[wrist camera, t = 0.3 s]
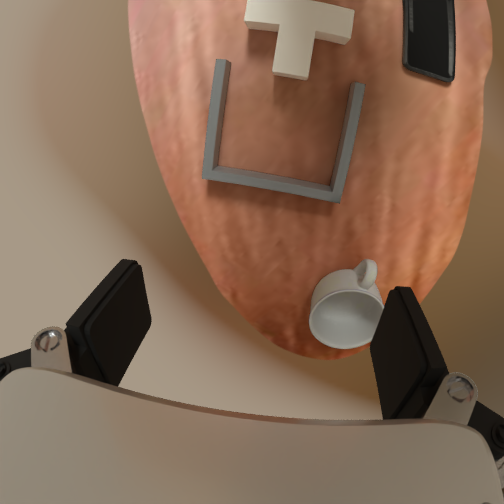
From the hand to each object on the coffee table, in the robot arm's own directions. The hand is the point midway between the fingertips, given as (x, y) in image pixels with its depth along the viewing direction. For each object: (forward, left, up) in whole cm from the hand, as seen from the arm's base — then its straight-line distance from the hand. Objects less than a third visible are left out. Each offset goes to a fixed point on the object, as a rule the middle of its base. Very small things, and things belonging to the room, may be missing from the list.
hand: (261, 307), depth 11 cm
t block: (-15, -1, -30) cm, 34 cm away
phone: (-23, +16, -31) cm, 42 cm away
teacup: (+17, +13, -30) cm, 37 cm away
